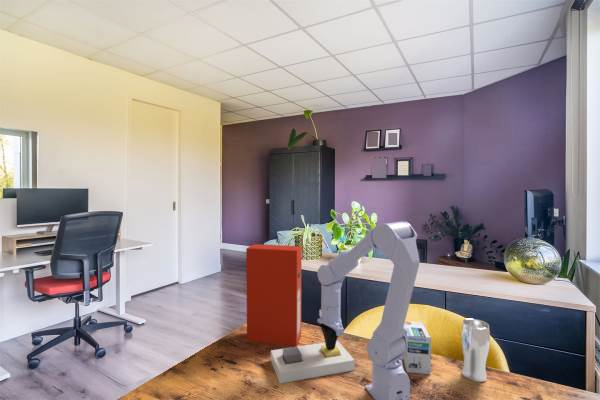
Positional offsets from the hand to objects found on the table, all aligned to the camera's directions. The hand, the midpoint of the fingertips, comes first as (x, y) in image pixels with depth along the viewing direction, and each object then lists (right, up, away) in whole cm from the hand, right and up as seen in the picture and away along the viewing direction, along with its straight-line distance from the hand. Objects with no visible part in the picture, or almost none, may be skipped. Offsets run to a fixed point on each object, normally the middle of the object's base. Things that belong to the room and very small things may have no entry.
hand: (330, 348), depth 96 cm
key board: (-6, -4, -2) cm, 7 cm away
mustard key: (0, -3, 0) cm, 3 cm away
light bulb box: (+25, -5, 0) cm, 26 cm away
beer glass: (+40, -5, -6) cm, 40 cm away
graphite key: (-11, -2, -3) cm, 12 cm away
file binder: (-18, -4, +15) cm, 23 cm away
